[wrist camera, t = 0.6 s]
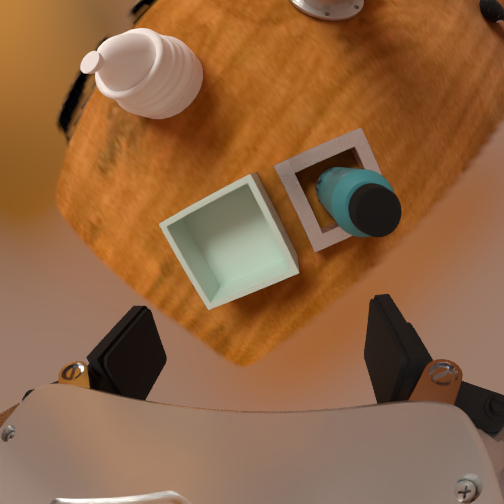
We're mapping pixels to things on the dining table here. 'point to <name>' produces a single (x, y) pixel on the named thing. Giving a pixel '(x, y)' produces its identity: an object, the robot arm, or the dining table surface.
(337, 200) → the beverage bottle
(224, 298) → the bin
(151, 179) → the dining table surface
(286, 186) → the socket frame
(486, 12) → the billiard ball
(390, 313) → the robot arm
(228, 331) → the dining table surface
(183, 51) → the honey pot
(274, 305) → the dining table surface
